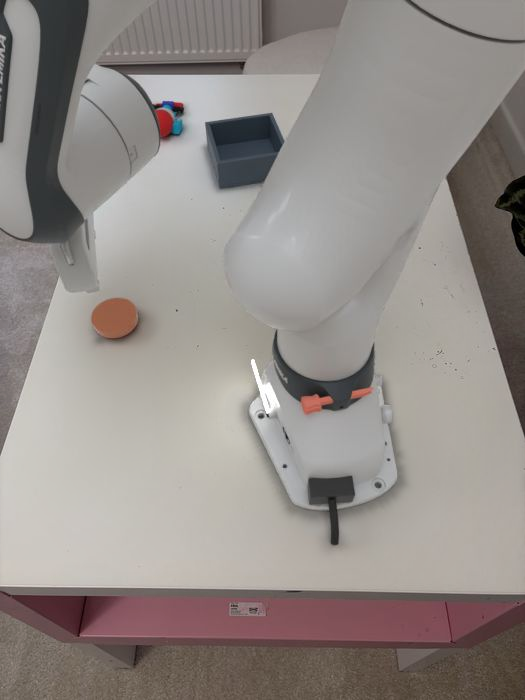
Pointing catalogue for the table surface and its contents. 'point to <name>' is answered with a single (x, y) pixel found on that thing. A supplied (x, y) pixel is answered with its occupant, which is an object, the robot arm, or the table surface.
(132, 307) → the orange hockey puck
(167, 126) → the toy figure
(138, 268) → the table surface
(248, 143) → the tub
